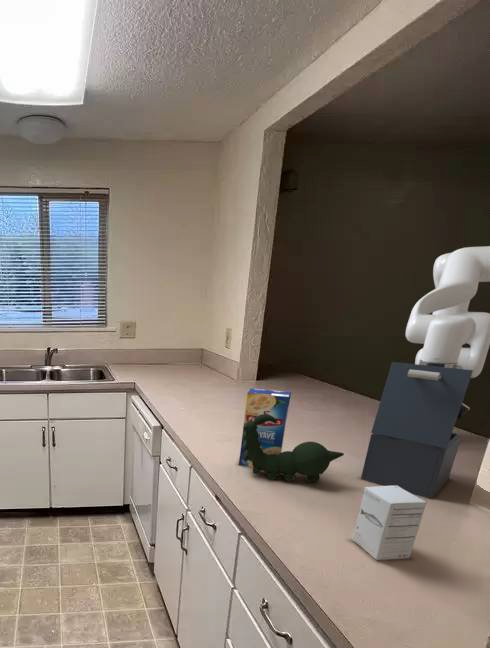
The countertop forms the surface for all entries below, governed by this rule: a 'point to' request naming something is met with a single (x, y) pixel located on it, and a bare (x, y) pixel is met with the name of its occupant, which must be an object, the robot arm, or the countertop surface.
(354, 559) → the countertop surface
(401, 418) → the box lid
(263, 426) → the blue food box
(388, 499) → the white packaging box
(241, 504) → the countertop surface
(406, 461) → the trash can
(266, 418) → the toy figurine
